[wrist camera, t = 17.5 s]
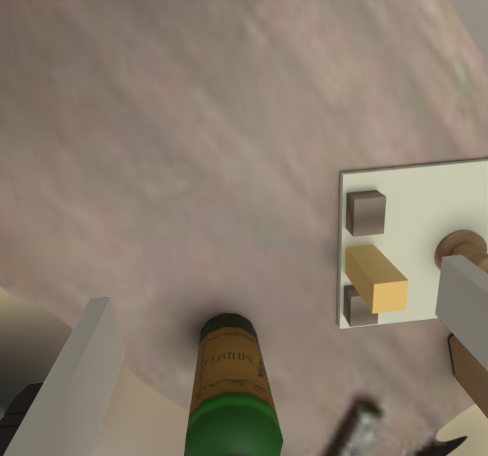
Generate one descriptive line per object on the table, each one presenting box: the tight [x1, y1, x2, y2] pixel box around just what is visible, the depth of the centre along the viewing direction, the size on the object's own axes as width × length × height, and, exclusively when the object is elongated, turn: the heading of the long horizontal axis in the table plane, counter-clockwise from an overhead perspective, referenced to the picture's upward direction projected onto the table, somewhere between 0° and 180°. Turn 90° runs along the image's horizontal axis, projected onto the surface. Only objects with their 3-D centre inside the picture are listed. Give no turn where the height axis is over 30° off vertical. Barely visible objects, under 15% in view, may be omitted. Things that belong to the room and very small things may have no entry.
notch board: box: [343, 190, 386, 327], centre depth 50 cm, size 19×4×3 cm, turn 4°
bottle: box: [184, 315, 283, 456], centre depth 44 cm, size 11×11×28 cm
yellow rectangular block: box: [345, 245, 409, 314], centre depth 47 cm, size 4×4×10 cm
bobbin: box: [434, 230, 488, 274], centre depth 47 cm, size 7×7×12 cm
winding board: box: [337, 158, 488, 329], centre depth 53 cm, size 24×22×1 cm
